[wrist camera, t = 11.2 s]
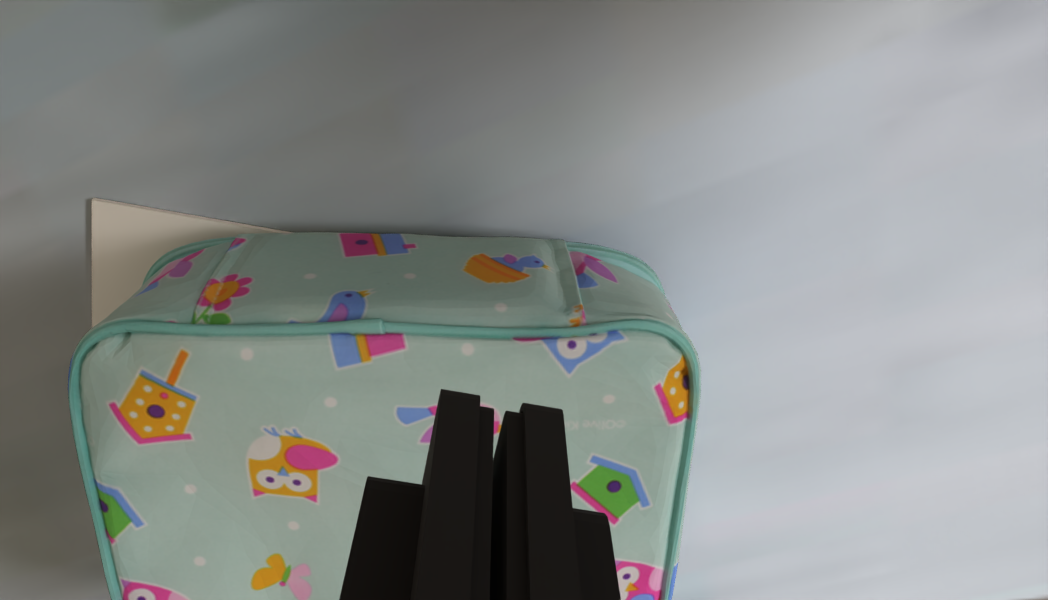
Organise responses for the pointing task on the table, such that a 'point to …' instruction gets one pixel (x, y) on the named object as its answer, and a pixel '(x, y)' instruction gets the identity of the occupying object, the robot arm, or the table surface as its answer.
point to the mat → (142, 246)
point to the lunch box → (366, 399)
